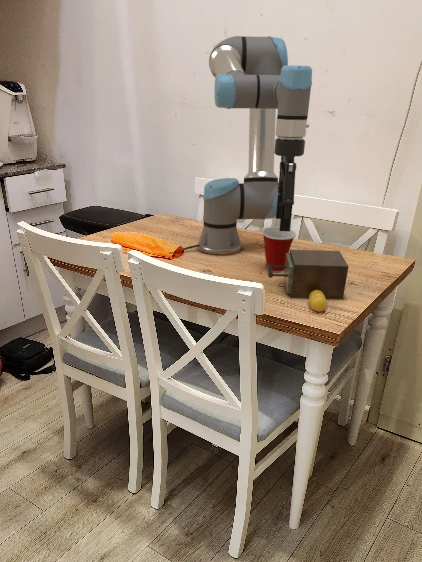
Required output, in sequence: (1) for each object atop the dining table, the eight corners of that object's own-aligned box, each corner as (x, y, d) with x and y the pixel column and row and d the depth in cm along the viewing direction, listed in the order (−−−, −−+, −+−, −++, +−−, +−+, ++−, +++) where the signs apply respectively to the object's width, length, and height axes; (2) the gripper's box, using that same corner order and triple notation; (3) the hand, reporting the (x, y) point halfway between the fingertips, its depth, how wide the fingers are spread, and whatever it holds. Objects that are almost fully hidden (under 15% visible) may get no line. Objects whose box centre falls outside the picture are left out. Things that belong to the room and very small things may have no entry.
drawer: (267, 293, 137) (269, 266, 133) (265, 277, 148) (267, 252, 143) (334, 295, 136) (339, 268, 132) (328, 279, 147) (331, 254, 143)
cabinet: (291, 297, 137) (294, 264, 132) (286, 280, 148) (290, 249, 143) (343, 299, 136) (348, 266, 131) (334, 281, 148) (339, 250, 143)
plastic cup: (269, 275, 151) (272, 237, 145) (253, 264, 160) (255, 228, 153) (298, 271, 155) (303, 234, 149) (281, 261, 164) (285, 225, 157)
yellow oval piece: (310, 313, 128) (312, 299, 125) (307, 301, 134) (309, 287, 132) (326, 314, 127) (329, 299, 125) (322, 302, 134) (324, 288, 132)
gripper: (312, 144, 111) (301, 237, 122) (299, 133, 132) (291, 214, 143) (279, 143, 111) (271, 236, 123) (272, 132, 132) (266, 213, 143)
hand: (282, 224), depth 133 cm, fingers open, 12 cm apart
